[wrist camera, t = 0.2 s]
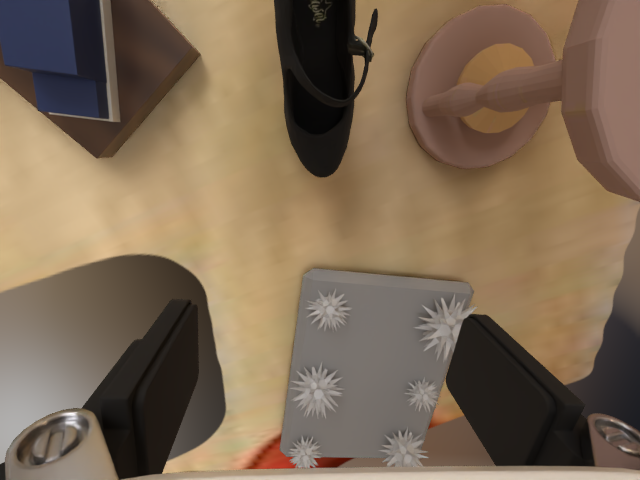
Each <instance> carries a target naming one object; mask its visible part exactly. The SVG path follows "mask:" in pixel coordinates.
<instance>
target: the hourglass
mask: <svg viewBox="0 0 640 480" xmlns="http://www.w3.org/2000/svg"><path fill="white" fill-rule="evenodd" d="M555 101H562V106H561V112H562V115H563V118H564V121H565V124H566V127H567V130H568V133H569V136H570V139H571V142H572V145H573V148H574V151H575V154H576V157H577V160H578V161H579V162H580V163H581V164H582V165H583V166H584V167H585V168H586V169H587V170H588V171H589V172H590V173H591V175H592V176H593V177H594V178H595V179H596V180H597V181H598V182H599V183H600V184H601V185H602V186H603V187H604V188H605V189H606V190H607V191H609V192H612V193H615V194H618V195H621V196H624V197H627V198H630V199H633V200H636V201H639V202H640V0H579V1H578V4H577V7H576V10H575V13H574V17H573V20H572V23H571V26H570V29H569V32H568V36H567V39H566V42H565V45H564V48H563V60H559V61H555V57H554V54H553V51H552V48H551V45H550V42H549V39H548V36H547V34H546V32H545V31H544V30H543V29H542V28H541V27H540V25H539V24H538V23H537V22H536V21H535V20H534V18H533V17H532V16H531V15H530V14H528V13H525V12H523V11H521V10H518V9H516V8H514V7H512V6H509V5H507V4H503V5H480V6H477V7H475V8H473V9H471V10H469V11H467V12H464V13H462V14H460V15H458V16H456V17H454V18H452V19H450V20H449V21H448V22H446V23H445V24H444V25H443V26H442V27H441V28H440V29H439V30H438V31H437V32H436V33H435V34H434V35H433V36H432V37H431V38H430V39H429V40H428V41H427V42H426V43H425V45H424V47H423V49H422V51H421V53H420V55H419V56H418V58H417V60H416V62H415V64H414V66H413V68H412V70H411V74H410V79H409V85H408V90H407V96H406V103H407V111H408V118H409V125H410V127H411V129H412V131H413V133H414V135H415V137H416V139H417V141H418V143H419V145H420V146H421V147H422V148H423V149H424V150H425V151H426V152H428V153H429V154H430V155H431V156H432V157H433V158H435V159H436V160H437V161H439V162H442V163H445V164H448V165H451V166H454V167H458V168H462V169H468V168H481V167H489V166H491V165H493V164H496V163H498V162H500V161H502V160H505V159H507V158H509V157H511V156H512V155H513V154H515V153H516V152H517V151H518V150H519V149H520V148H521V147H523V146H524V145H525V144H526V143H527V142H528V141H529V140H531V138H532V137H533V135H534V134H535V132H536V131H537V129H538V128H539V126H540V124H541V123H542V121H543V120H544V118H545V117H546V115H547V112H548V108H549V105H550V102H555Z"/></svg>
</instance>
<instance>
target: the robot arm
mask: <svg viewBox="0 0 640 480" xmlns="http://www.w3.org/2000/svg"><path fill="white" fill-rule="evenodd" d="M198 363H199V361H198V308H197V305H192V302H191V300H182V299H181V300H180V299H172V300H171V301H170V302H169V303H168V305H167V306H166V307H165V309H164V310H163V312H162V313H161V314H160V316H159V317H158V319H157V320H156V321H155V322H154V324H153V325H152V327H151V328H150V329H149V331H148V332H147V334H146V335H145V336H144V337H143V339H137V340H135V341H134V342H133V343H132V344H131V345H130V346H129V347H128V349H127V350H126V351H125V353H124V354H123V355H122V356H121V358H120V359H119V360H118V362H117V363H116V364H115V366H114V367H113V368H112V370H111V371H110V372H109V373H108V375H107V376H106V377H105V379H104V380H103V381H102V382H101V384H100V385H99V386H98V388H97V389H96V390H95V392H94V393H93V394H92V395H91V397H90V398H89V399H88V401H87V402H86V403H85V405H84V406H83V407H82V408H81V409H79V408H73V409H66V410H61V411H58V412H55V413H52V414H50V415H48V416H46V417H44V418H42V419H40V420H38V421H36V422H34V423H33V424H32V425H30V426H29V427H27V428H26V429H24V430H23V431H22V432H21V433H20V434H19V435H18V436H17V437H16V438H15V439H14V440H13V442H12V443H11V445H10V447H9V448H8V450H7V453H6V457H5V462H4V463H2V464H0V480H640V431H638V430H637V429H635V428H634V427H632V426H630V425H629V424H626V423H625V422H623V421H621V420H619V419H616V418H614V417H611V416H608V415H604V414H599V413H598V414H591V415H590V416H588V418H587V419H586V418H584V416H582V415H581V413H582V411H583V409H584V407H585V404H584V403H583V402H582V401H581V400H580V399H579V398H577V397H576V396H575V395H574V394H573V393H572V392H571V391H570V390H569V389H568V388H567V387H565V386H564V385H563V384H562V383H561V382H560V381H559V380H558V379H557V378H556V377H555V376H553V375H552V374H551V373H550V372H549V371H548V370H547V369H546V368H545V367H544V366H543V365H541V364H540V363H539V362H538V361H537V360H536V359H535V358H534V357H533V356H532V355H531V354H529V353H528V352H527V351H526V350H525V349H524V348H523V347H522V346H521V345H520V344H519V343H517V342H516V341H515V340H514V339H513V338H512V337H511V336H510V335H509V334H508V333H507V332H505V331H504V330H503V329H502V328H501V327H500V326H499V325H498V324H497V323H496V322H494V321H493V320H492V319H491V318H490V317H489V316H487V315H479V314H470V315H468V316H467V318H464V320H463V322H462V325H461V328H460V332H459V335H458V338H457V342H456V345H455V349H454V352H453V355H452V359H451V362H450V366H449V369H448V372H447V376H446V384H447V387H448V389H449V391H450V392H451V394H452V396H453V397H454V399H455V401H456V402H457V404H458V405H459V407H460V409H461V410H462V412H463V413H464V415H465V417H466V418H467V420H468V421H469V423H470V425H471V426H472V428H473V430H474V431H475V433H476V434H477V436H478V438H479V439H480V441H481V442H482V444H483V446H484V447H485V449H486V451H487V452H488V454H489V455H490V457H491V459H492V460H493V462H494V464H495V465H496V466H437V467H436V466H434V467H433V466H432V467H356V468H355V467H351V468H297V469H248V470H221V471H194V472H178V473H166V474H162V472H163V469H164V467H165V464H166V461H167V459H168V456H169V454H170V451H171V448H172V446H173V443H174V441H175V438H176V435H177V433H178V430H179V428H180V425H181V422H182V420H183V417H184V414H185V411H186V409H187V407H188V404H189V401H190V399H191V396H192V393H193V391H194V388H195V386H196V383H197V379H198V373H199V364H198Z"/></svg>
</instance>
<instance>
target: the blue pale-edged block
mask: <svg viewBox="0 0 640 480" xmlns="http://www.w3.org/2000/svg"><path fill="white" fill-rule="evenodd" d="M0 43H1V49H2V54H3V59H4V65H5V66H9V67H13V68H17V69H21V70H25V71H29V72H32V76H33V82H34V89H35V95H36V101H37V107H38V111H42V112H49V114H53V115H61V116H69V117H78V118H86V119H94V120H103V121H111V122H120V111H119V98H118V86H117V74H116V62H115V50H114V37H113V25H112V13H111V1H110V0H0Z"/></svg>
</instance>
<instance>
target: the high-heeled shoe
mask: <svg viewBox="0 0 640 480" xmlns="http://www.w3.org/2000/svg"><path fill="white" fill-rule="evenodd" d="M274 6H275V19H276V34H277V42H278V49H279V55H280V61H281V68H282V75H283V88H284V113H285V119H286V125H287V129H288V133H289V137H290V141H291V144H292V146H293V148H294V149H295V151H296V153H297V155H298V157H299V159H300V161H301V162H302V164H303V165H304V166H305V168H306V169H307V170H308V171H309V172H310V173H312V174H313V175H315V176H317V177H328V176H330V175H332V174H333V173H334V172H335V171H336V170H337V168H338V166H339V165H340V163H341V160H342V158H343V155H344V153H345V150H346V148H347V144H348V140H349V134H350V128H351V124H352V118H353V110H354V99H355V98H356V97H357V95H358V94H359V92H360V91H361V89H362V87H363V85H364V83H365V79H366V76H367V72H368V66H369V62H371V60H372V57H373V55H374V53H373V52H372V50H371V48H370V47H371V43H372V37H373V34H374V32H375V30H376V27H377V18H378V11H377V9H375V10H374V12H373V14H372V19H371V23H370V27H369V31H368V37H367V41H366V42H365V41H364V40H363V39H362V38H360V37H358V36H355V34H354V25H355V0H274ZM356 39H358V41H356ZM353 55H359V56H363V57H364V58H365V67H364V71H363V76H362V79H361V82H360V84H359V86H358V88H357V90H356V91H355V92H354V81H355V74H354V65H353Z"/></svg>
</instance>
